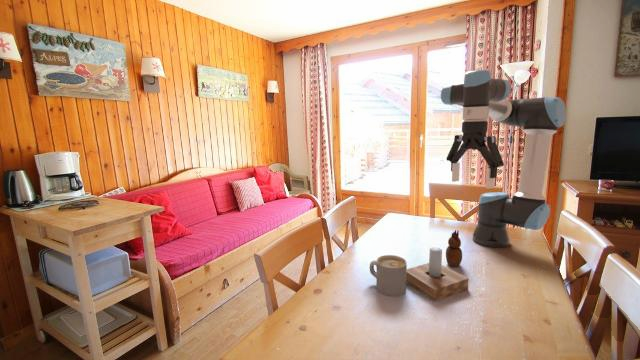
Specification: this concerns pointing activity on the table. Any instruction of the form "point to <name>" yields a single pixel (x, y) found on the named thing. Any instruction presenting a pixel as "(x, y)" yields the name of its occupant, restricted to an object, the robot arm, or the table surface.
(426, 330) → the table surface
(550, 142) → the robot arm
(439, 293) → the bore block
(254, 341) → the table surface
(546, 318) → the table surface
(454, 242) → the wooden figurine
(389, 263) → the coffee mug
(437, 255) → the peg
